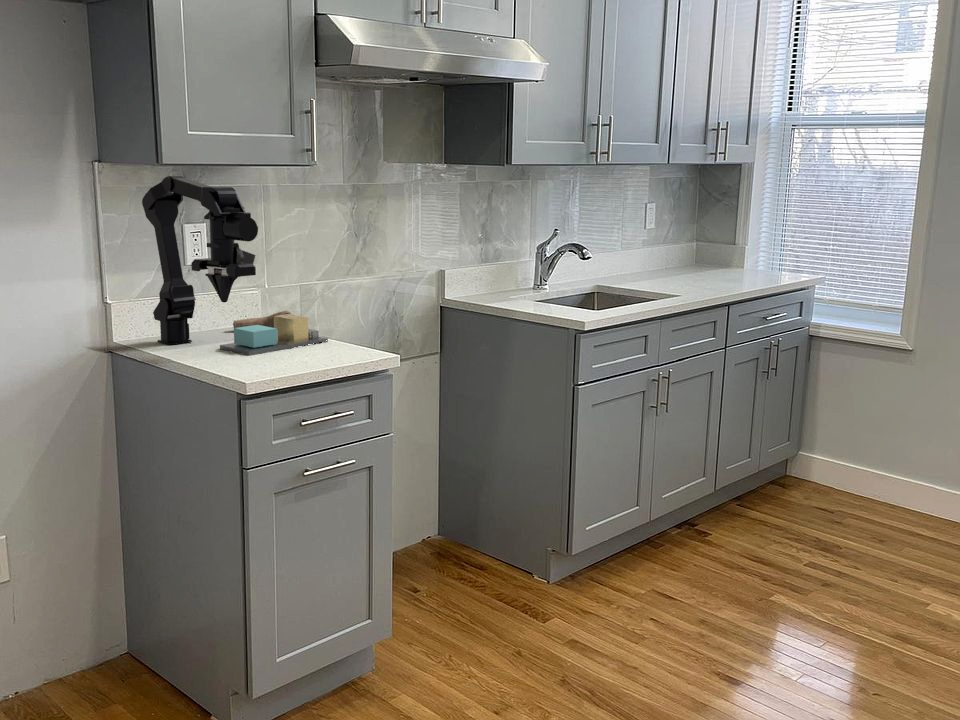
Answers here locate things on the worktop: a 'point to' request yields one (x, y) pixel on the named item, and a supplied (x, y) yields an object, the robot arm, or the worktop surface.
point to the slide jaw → (255, 336)
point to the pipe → (259, 320)
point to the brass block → (291, 327)
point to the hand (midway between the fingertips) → (224, 302)
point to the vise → (274, 345)
